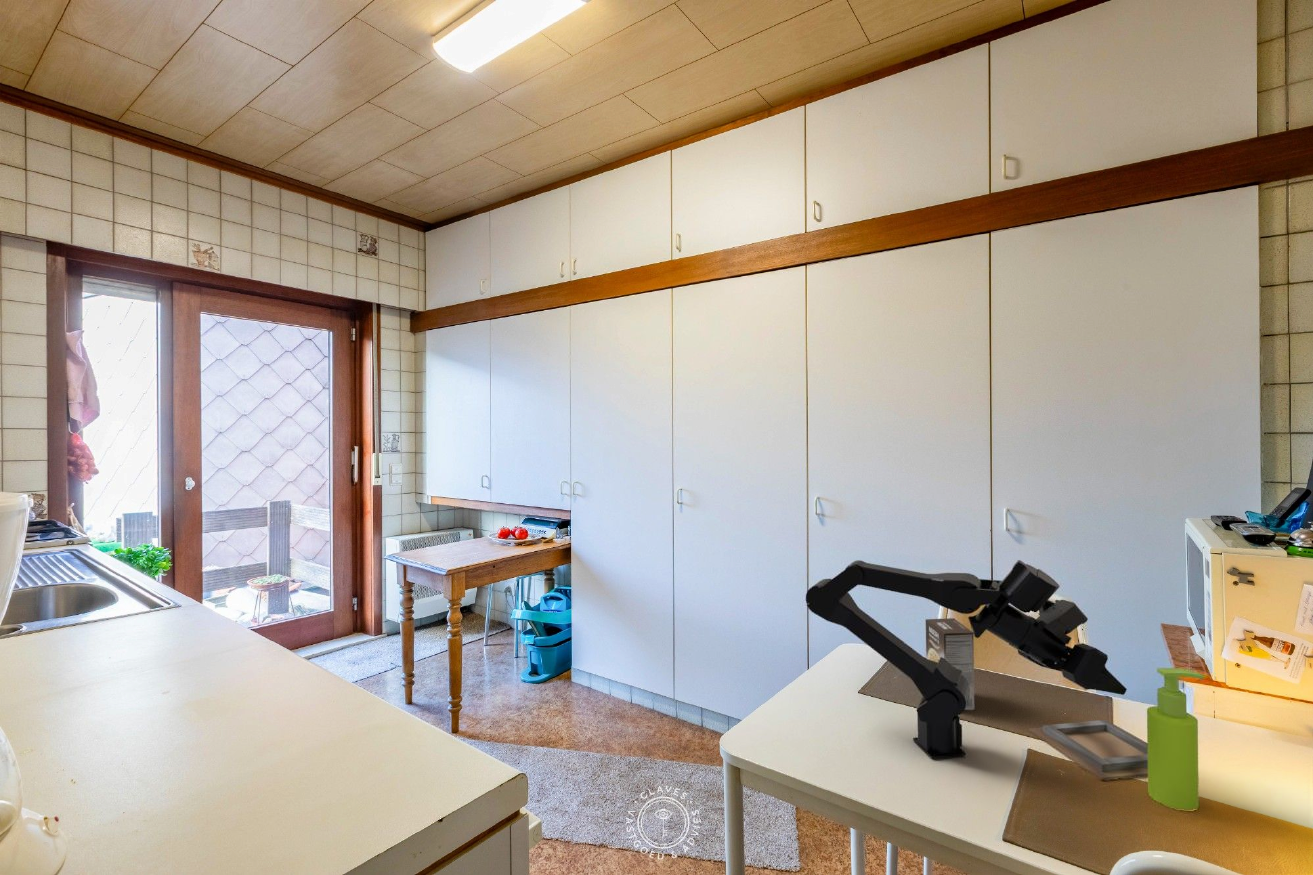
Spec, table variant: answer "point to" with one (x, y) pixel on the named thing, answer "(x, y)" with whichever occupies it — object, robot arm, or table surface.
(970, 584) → the robot arm
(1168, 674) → the soap dispenser
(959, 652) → the coffee box
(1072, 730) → the grey rectangular tray
